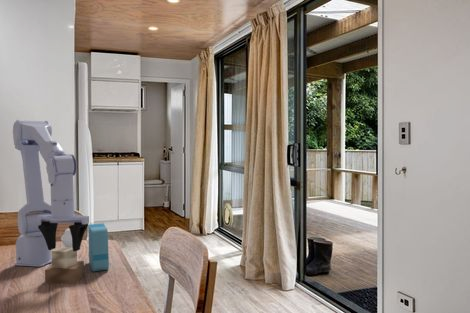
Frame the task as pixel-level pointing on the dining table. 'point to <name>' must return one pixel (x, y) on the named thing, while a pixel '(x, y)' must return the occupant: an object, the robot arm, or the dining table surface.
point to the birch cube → (63, 257)
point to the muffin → (67, 238)
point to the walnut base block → (64, 274)
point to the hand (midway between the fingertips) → (64, 249)
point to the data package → (98, 247)
